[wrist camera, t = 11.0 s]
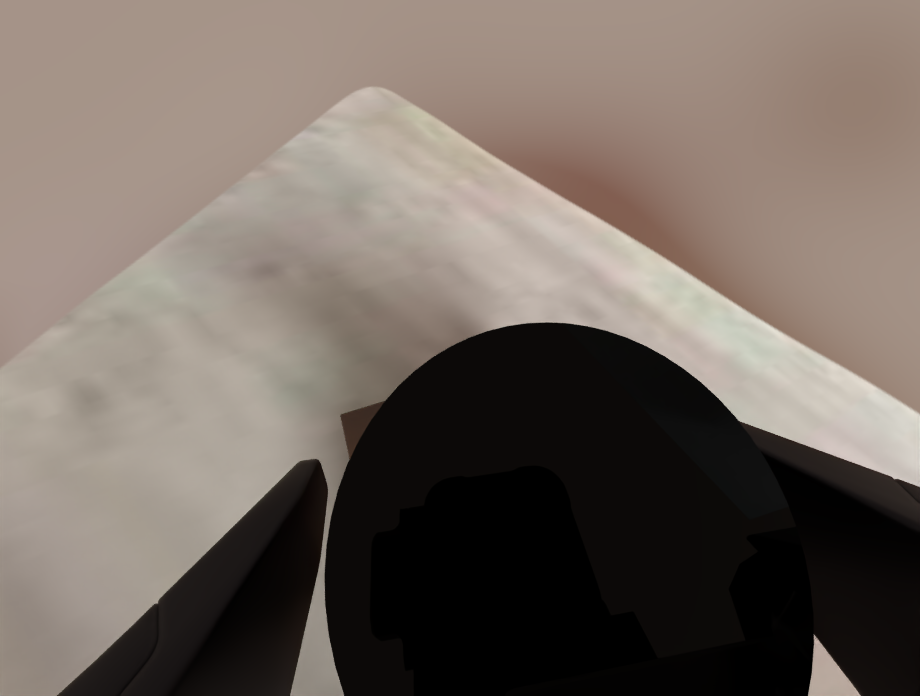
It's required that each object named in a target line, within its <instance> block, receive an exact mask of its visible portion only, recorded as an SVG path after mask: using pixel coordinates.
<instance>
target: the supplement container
mask: <svg viewBox="0 0 920 696" xmlns="http://www.w3.org/2000/svg"><path fill="white" fill-rule="evenodd" d="M325 605H326V614H327V623H328V631H329V638H330V643H331V647H332V652H333V657H334V662H335V666H336V670H337V673H338V676H339V680H340V683H341V686H342V689H343V692H344V696H808V692H809V686H810V680H811V674H812V662H813V649H814V622H813V606H812V596H811V586H810V581H809V575H808V570H807V565H806V560H805V555H804V552H803V548H802V544H801V541H800V537H799V534H798V530H797V527H796V524H795V522H794V519H793V516H792V514H791V511H790V508H789V505H788V503H787V501H786V499H785V496H784V494H783V492H782V490H781V488H780V486H779V483H778V481H777V479H776V477H775V476H774V474H773V472H772V470H771V468H770V467H769V465H768V463H767V461H766V459H765V458H764V456H763V455H762V453H761V451H760V450H759V448H758V447H757V445H756V444H755V442H754V441H753V439H752V438H751V436H750V435H749V434H748V433H747V431H746V430H745V429H744V427H743V426H742V425H741V424H740V422H739V421H738V420H737V419H736V417H735V416H734V415H733V414H732V413H731V412H730V411H729V410H728V408H727V407H726V406H725V405H724V404H723V403H722V402H721V401H720V400H719V399H718V398H717V397H716V396H715V395H714V394H713V393H712V392H711V391H710V390H709V389H707V388H706V387H705V386H704V385H703V384H702V383H701V382H700V381H698V380H697V379H696V378H695V377H693V376H692V375H691V374H689V373H688V372H687V371H686V370H684V369H683V368H681V367H680V366H678V365H677V364H675V363H674V362H672V361H671V360H669V359H668V358H666V357H665V356H663V355H661V354H659V353H657V352H656V351H654V350H652V349H650V348H648V347H646V346H644V345H642V344H640V343H637V342H635V341H633V340H631V339H628V338H626V337H623V336H620V335H617V334H614V333H611V332H608V331H604V330H600V329H596V328H592V327H588V326H581V325H574V324H567V323H526V324H520V325H513V326H507V327H502V328H498V329H494V330H490V331H487V332H484V333H481V334H478V335H476V336H473V337H470V338H468V339H466V340H463V341H461V342H459V343H457V344H455V345H453V346H451V347H449V348H447V349H446V350H444V351H443V352H441V353H439V354H438V355H436V356H434V357H433V358H431V359H430V360H429V361H427V362H426V363H425V364H423V365H422V366H421V367H419V368H418V369H417V370H415V371H414V372H413V373H412V374H411V375H410V376H409V377H408V378H407V379H406V380H404V381H403V382H402V383H401V384H400V385H399V386H398V387H397V388H396V389H395V391H394V392H393V393H392V394H391V395H390V396H389V397H388V398H387V400H386V401H385V402H384V403H383V404H382V406H381V407H380V409H379V410H378V411H377V413H376V414H375V415H374V417H373V418H372V420H371V421H370V422H369V424H368V426H367V428H366V429H365V431H364V433H363V434H362V436H361V438H360V439H359V441H358V443H357V445H356V447H355V449H354V451H353V454H352V456H351V458H350V460H349V462H348V464H347V467H346V469H345V472H344V475H343V478H342V481H341V483H340V486H339V489H338V492H337V496H336V500H335V504H334V508H333V512H332V516H331V521H330V528H329V534H328V540H327V548H326V563H325Z"/></svg>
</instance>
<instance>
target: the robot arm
mask: <svg viewBox="0 0 920 696" xmlns="http://www.w3.org/2000/svg"><path fill="white" fill-rule="evenodd" d="M739 422H740V421H739ZM740 424H741V425H742V426H743V427H744V429H745V430H746V431H747V433H748V434H749V435H750V436H751V438H752V439H753V441H754V442H755V444H756V445H757V447H758V448H759V450H760V451H761V453H762V455H763V456H764V458H765V459H766V461H767V463H768V465H769V467H770V468H771V470H772V472H773V474H774V476H775V477H776V479H777V481H778V483H779V486H780V488H781V490H782V492H783V494H784V496H785V499H786V501H787V503H788V505H789V508H790V511H791V514H792V516H793V519H794V522H795V524H796V527H797V530H798V534H799V537H800V541H801V544H802V548H803V552H804V555H805V560H806V565H807V570H808V575H809V581H810V586H811V596H812V606H813V622H814V635H815V636H816V637H817V639H818V640H819V641H820V643H821V644H822V645H823V647H824V648H825V649H826V650H827V652H828V653H829V654H830V656H831V657H832V658H833V660H834V661H835V662H836V663H837V665H838V666H839V667H840V669H841V670H842V671H843V673H844V674H845V675H846V677H847V678H848V679H849V680H850V682H851V683H852V684H853V686H854V687H855V688H856V690H857V691H858V692H859V694H860V695H861V696H920V487H918V486H915V485H913V484H910V483H907V482H904V481H902V480H899V479H895V480H894V479H893V478H892V477H890V476H888V475H885V474H882V473H880V472H877V471H874V470H871V469H869V468H866V467H863V466H860V465H858V464H855V463H852V462H849V461H847V460H844V459H841V458H838V457H836V456H833V455H830V454H827V453H825V452H822V451H819V450H816V449H814V448H811V447H808V446H806V445H803V444H800V443H797V442H795V441H792V440H789V439H786V438H784V437H781V436H778V435H775V434H773V433H770V432H767V431H764V430H762V429H759V428H756V427H753V426H751V425H748V424H745V423H742V422H740ZM327 497H328V487H327V482H326V479H325V476H324V472H323V469H322V466H321V463H320V461H319V460H318V459H311V460H303V461H300V462H298V463H297V464H296V465H295V466H294V467H293V468H292V469H291V470H290V471H289V472H288V473H287V474H286V475H285V476H284V477H283V478H282V479H281V480H280V481H279V482H278V483H277V484H276V485H275V486H274V487H273V488H272V489H271V490H270V491H269V492H268V493H267V494H266V495H265V496H264V497H263V498H262V499H261V500H260V501H259V502H258V503H257V504H256V505H255V506H254V507H253V508H251V509H250V510H249V511H248V512H247V513H246V514H245V515H244V516H243V517H242V518H241V519H240V520H239V521H238V522H237V523H236V524H235V525H234V526H233V527H232V528H231V529H230V530H229V531H228V532H227V533H226V534H225V535H224V536H223V537H222V538H221V539H220V540H219V541H218V542H217V543H216V544H215V545H214V546H213V547H212V548H211V549H210V550H209V551H208V552H207V553H206V554H205V555H204V556H203V557H202V558H201V559H200V560H199V561H198V562H197V563H196V564H195V565H194V566H193V567H192V568H191V569H190V570H188V571H187V572H186V573H185V574H184V575H183V576H182V577H181V578H180V579H179V580H178V581H177V582H176V583H175V584H174V585H173V586H172V587H171V588H170V589H169V590H168V591H167V592H166V593H165V594H164V595H163V596H162V597H161V598H160V599H159V601H158V604H154V605H153V606H152V607H151V608H150V609H149V610H148V611H147V612H146V613H145V614H144V615H143V616H142V617H141V618H140V619H138V620H137V621H136V622H135V623H134V624H133V625H132V626H131V627H130V628H129V629H128V630H127V631H126V632H125V633H124V634H123V635H122V636H121V637H120V638H119V639H118V640H117V641H116V642H115V643H114V644H113V645H111V646H110V647H109V648H108V649H107V650H106V651H105V652H104V653H103V654H102V655H101V656H100V657H99V658H98V659H97V660H96V661H95V662H94V663H92V664H91V665H90V666H89V667H88V668H87V669H86V670H85V671H84V672H83V673H81V674H80V675H79V676H78V677H77V678H76V679H75V680H74V681H73V682H72V683H70V684H69V685H68V686H67V687H66V688H65V689H64V690H63V691H62V692H60V693H59V694H58V695H57V696H290V693H291V689H292V684H293V680H294V676H295V671H296V667H297V662H298V658H299V653H300V649H301V644H302V640H303V636H304V631H305V627H306V622H307V618H308V613H309V609H310V604H311V600H312V596H313V591H314V587H315V582H316V578H317V573H318V568H319V563H320V557H321V550H322V541H323V532H324V523H325V515H326V506H327Z"/></svg>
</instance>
